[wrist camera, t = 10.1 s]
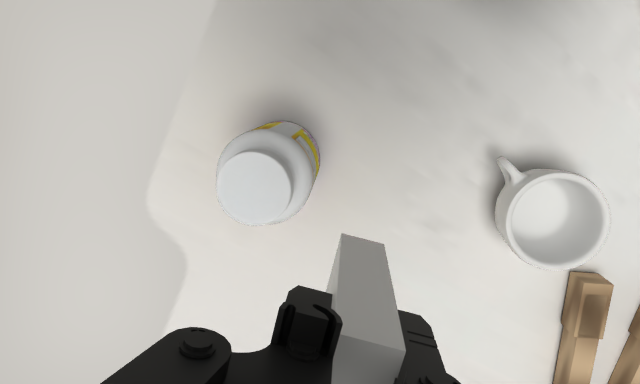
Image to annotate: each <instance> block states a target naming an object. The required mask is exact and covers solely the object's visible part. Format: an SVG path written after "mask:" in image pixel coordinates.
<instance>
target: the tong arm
mask: <svg viewBox="0 0 640 384" xmlns="http://www.w3.org/2000/svg"><path fill="white" fill-rule="evenodd" d="M613 287H614V285H613V284H612V283H610V282H609V281H608V280H606V279H605V278H604V277H602V276H601V275H600V274H596V273H582V272H570V277H569V282H568V288H567V293H566V298H565V304H564V309H563V315H562V320H561V324H562V325H563V326H564V328H563V333H562V339H561V344H560V349H559V355H558V360H557V365H556V371H555V376H554V382H553V384H590V380H591V375H592V370H593V365H594V360H595V355H596V351H597V346H598V341H599V339H603V335H604V330H605V325H606V320H607V315H608V311H609V306H610V301H611V296H612V291H613Z"/></svg>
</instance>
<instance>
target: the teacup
mask: <svg viewBox="0 0 640 384" xmlns="http://www.w3.org/2000/svg"><path fill="white" fill-rule="evenodd" d="M496 161H497V163H498V165H499V167H500V169H501V171H502V173H503V175H504V178H505V185H504V187H503V189H502V190H501V192H500V194H499V196H498V198H497V202H496V207H495V222H496V226H497V229H498V231H499V233H500V234H501V236H502V237H503V239H504V240H505V242H506V243H507V244H508V246H509V247H510V248H511V250H512V251H513V252H514V253H515V254H516V255H517V256H518V257H519V258H520V259H521V260H523V261H525V262H526V263H528V264H530V265H532V266H535V267H537V268H540V269H544V270H550V271H562V270H568V269H572V268H575V267H578V266H580V265H582V264H584V263H586V262H587V261H589V260H590V259H591V258H593V257H594V256H595V255H596V254H597V253H598V252H599V251H600V249H601V248H602V247H603V245H604V243H605V241H606V239H607V237H608V234H609V231H610V225H611V214H610V209H609V205H608V203H607V200H606V198H605V197H604V195H603V193H602V192H601V191H600V189H599V188H598V187H597V186H596V185H595V184H594V183H592V182H591V181H590V180H588V179H587V178H585V177H583V176H581V175H579V174H576V173H573V172H568V171H563V170H551V169H532V170H528V171H525V172H520V171H518V170H517V169H516V168H515V167H514V166H513V165H512V164H511V163H510V162H509V161H508V160H507V159H506V158H504V157H502V156H501V157H499V158H498V159H497V160H496Z"/></svg>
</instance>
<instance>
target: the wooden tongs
mask: <svg viewBox="0 0 640 384" xmlns="http://www.w3.org/2000/svg"><path fill="white" fill-rule="evenodd" d="M628 331H629V332H630V336H629V338H628V340H627V342H626V345H625V347H624V349H623V351H622V353H621V356H620V358H619V360H618V362H617V364H616V367H615V369H614V371H613V373H612V375H611V378H610V380H609V382H608V384H640V305H639V308H638V310H637V312H636V314H635V317H634V319H633V321H632V323H631V325H630V328H629V330H628Z"/></svg>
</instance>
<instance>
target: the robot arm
mask: <svg viewBox="0 0 640 384" xmlns="http://www.w3.org/2000/svg"><path fill="white" fill-rule="evenodd" d="M100 384H461V383H460V382H459V381H457V380H456V379H455V378H454V377H452V376H451V375H449V374H447V373H446V371H445V368H444V365H443V362H442V359H441V356H440V353H439V350H438V349H437V344H436V341H435V340H434V335H433V332H432V329H431V327H430V325H429V324H428V323H427V322H426V321H425V320H424V319H423V318H422V317H421V316H420V315H416V314H412V313H409V312H405V311H401V310H397V305H396V300H395V295H394V291H393V286H392V281H391V276H390V271H389V267H388V262H387V257H386V252H385V247H384V244H381V243H377V242H373V241H369V240H365V239H362V238H358V237H354V236H350V235H346V234H341V238H340V241H339V245H338V249H337V253H336V256H335V260H334V264H333V267H332V271H331V275H330V278H329V282H328V286H327V290H326V292H322V291H318V290H314V289H311V288H307V287H303V286H299V285H298V286H297V287H295V288H293V289H292V290H290V291H289V292H288V296H287V299H286V302H283V304H282V305H281V306H280V307H279V311H278V315H277V319H276V323H275V327H274V331H273V335H272V339H271V343H270V345H269V346H267V347H266V348H264V349H262V350H260V351H255V352H250V353H235V352H232V351H231V344H230V343H229V342H228V341H227V339H226V338H225V337H224V336H222V335H220V334H219V333H217V332H215V331H212V330H208V329H205V328H200V327H199V328H198V327H189V328H183V329H177V330H175V331H173V332H171V333H169V334H167V335H166V336H165V337H163V338H162V339H161V340H159V341H158V342H157V343H155V344H154V345H152V346H151V347H150V348H148V349H147V350H146V351H144V352H143V353H141V354H140V355H139V356H137V357H136V358H135V359H134V360H132V361H131V362H129V363H128V364H126V365H125V366H124V367H122V368H121V369H120V370H118V371H117V372H116V373H114V374H113V375H111V376H110V377H109V378H107V379H106V380H105V381H103V382H102V383H100Z"/></svg>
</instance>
